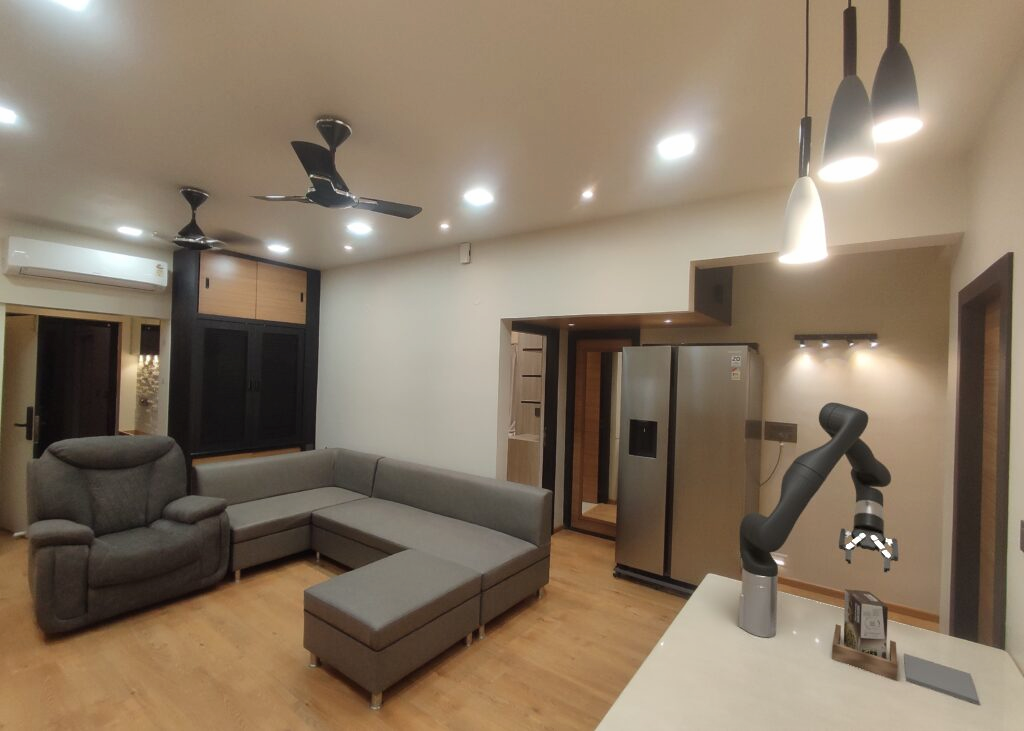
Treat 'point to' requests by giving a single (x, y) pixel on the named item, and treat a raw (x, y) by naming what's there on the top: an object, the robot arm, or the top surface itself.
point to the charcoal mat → (940, 678)
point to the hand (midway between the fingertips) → (867, 566)
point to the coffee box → (865, 623)
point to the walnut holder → (865, 658)
